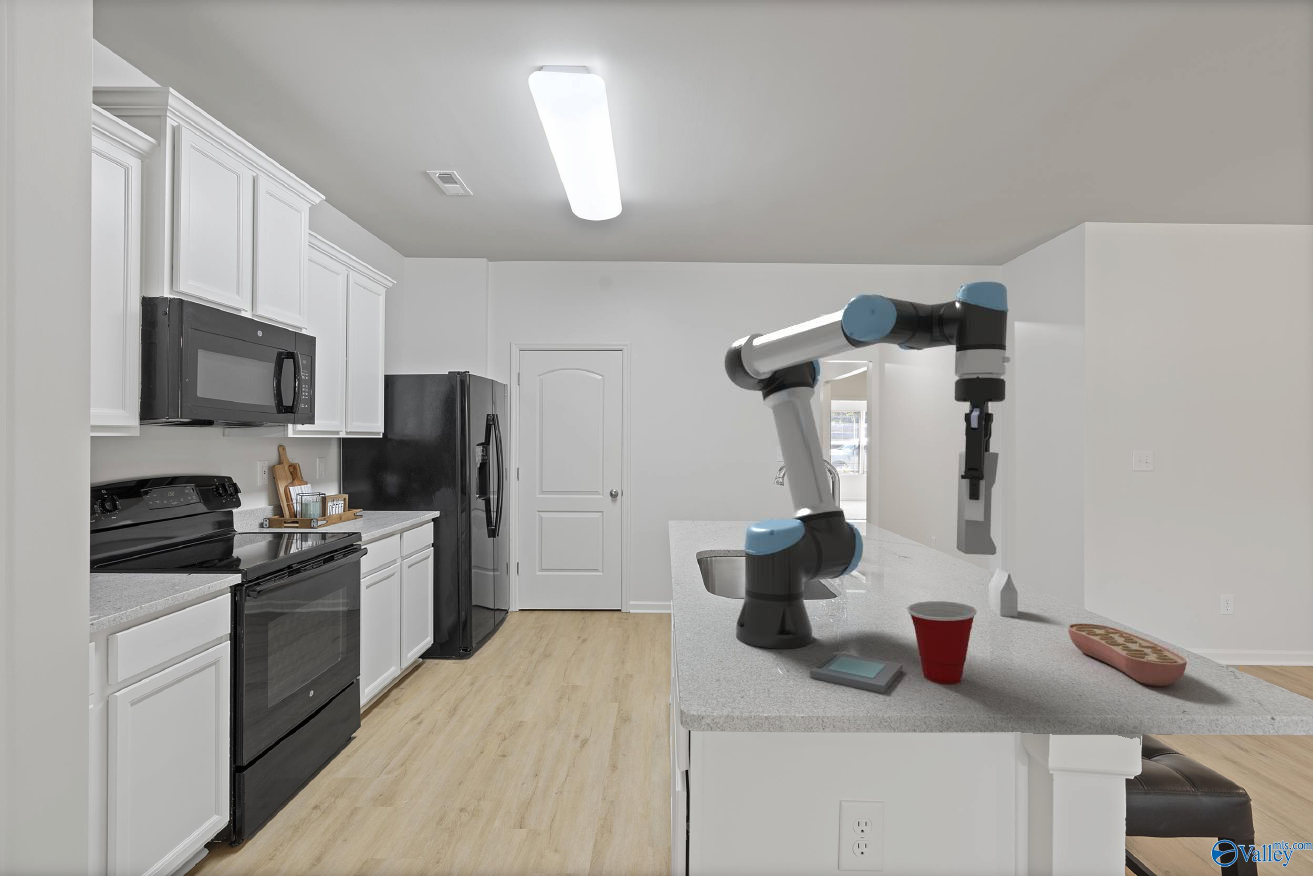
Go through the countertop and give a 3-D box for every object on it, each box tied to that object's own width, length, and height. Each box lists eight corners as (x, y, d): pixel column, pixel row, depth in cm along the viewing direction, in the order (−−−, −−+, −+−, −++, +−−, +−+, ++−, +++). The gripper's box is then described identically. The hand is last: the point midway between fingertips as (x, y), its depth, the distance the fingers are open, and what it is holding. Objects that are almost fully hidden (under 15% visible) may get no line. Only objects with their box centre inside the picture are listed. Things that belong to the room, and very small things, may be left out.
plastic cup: (897, 666, 115) (897, 598, 115) (959, 667, 114) (959, 599, 114) (919, 690, 104) (920, 614, 104) (988, 691, 103) (989, 616, 103)
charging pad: (810, 677, 109) (810, 669, 109) (833, 658, 119) (833, 650, 119) (883, 693, 102) (883, 685, 102) (902, 671, 112) (902, 663, 112)
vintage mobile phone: (996, 555, 106) (1000, 401, 105) (964, 554, 106) (968, 401, 106) (987, 551, 110) (990, 402, 109) (956, 550, 110) (959, 402, 110)
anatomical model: (1057, 648, 126) (1057, 622, 126) (1110, 649, 125) (1110, 623, 125) (1142, 695, 103) (1142, 663, 103) (1206, 696, 103) (1206, 664, 103)
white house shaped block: (1000, 617, 147) (1000, 573, 147) (988, 610, 154) (988, 567, 154) (1017, 618, 147) (1017, 574, 147) (1005, 610, 153) (1005, 568, 153)
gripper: (1000, 372, 98) (996, 526, 98) (1009, 381, 113) (1006, 514, 114) (946, 374, 102) (943, 522, 102) (962, 382, 117) (959, 510, 118)
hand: (976, 517), depth 108 cm, fingers closed on vintage mobile phone, 5 cm apart
